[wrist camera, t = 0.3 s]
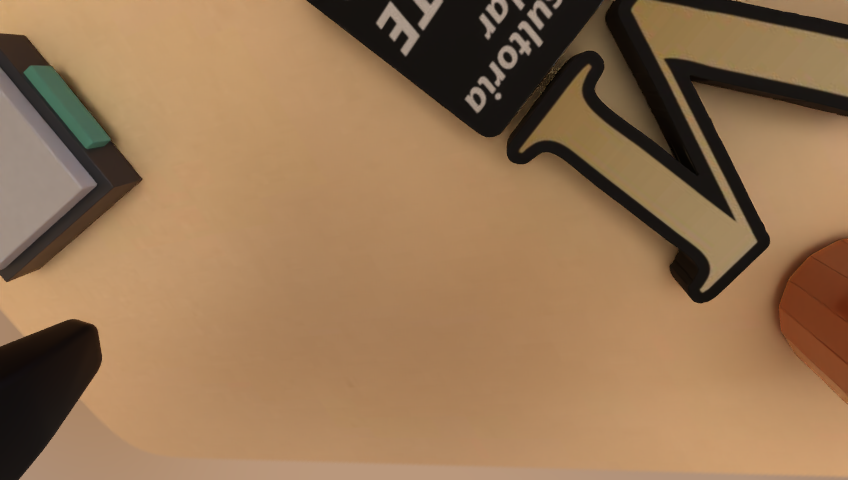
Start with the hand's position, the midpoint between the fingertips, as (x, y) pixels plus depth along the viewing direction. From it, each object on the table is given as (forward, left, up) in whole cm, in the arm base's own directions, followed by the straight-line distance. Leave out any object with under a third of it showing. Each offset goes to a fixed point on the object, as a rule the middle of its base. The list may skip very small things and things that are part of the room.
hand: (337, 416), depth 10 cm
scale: (-15, +13, -16) cm, 25 cm away
